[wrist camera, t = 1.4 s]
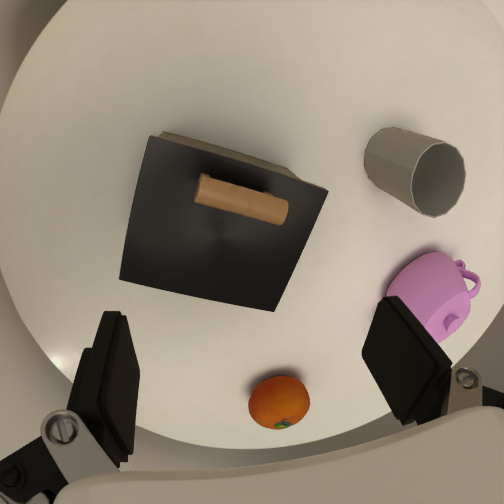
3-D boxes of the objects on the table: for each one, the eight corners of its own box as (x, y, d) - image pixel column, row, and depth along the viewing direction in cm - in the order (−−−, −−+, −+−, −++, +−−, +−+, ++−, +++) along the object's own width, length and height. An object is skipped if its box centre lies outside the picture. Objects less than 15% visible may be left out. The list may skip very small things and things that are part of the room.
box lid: (150, 135, 21) (138, 144, 17) (325, 188, 26) (351, 209, 21) (120, 275, 26) (108, 309, 22) (272, 307, 30) (284, 342, 26)
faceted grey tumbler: (424, 156, 37) (474, 177, 28) (390, 200, 39) (435, 231, 31) (389, 114, 34) (441, 125, 25) (352, 162, 36) (396, 185, 27)
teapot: (443, 224, 43) (493, 260, 33) (457, 276, 49) (496, 313, 39) (346, 300, 46) (381, 353, 36) (375, 342, 52) (404, 389, 42)
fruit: (256, 364, 49) (265, 402, 42) (311, 368, 52) (325, 403, 45) (238, 401, 54) (244, 436, 47) (288, 403, 57) (299, 436, 50)
